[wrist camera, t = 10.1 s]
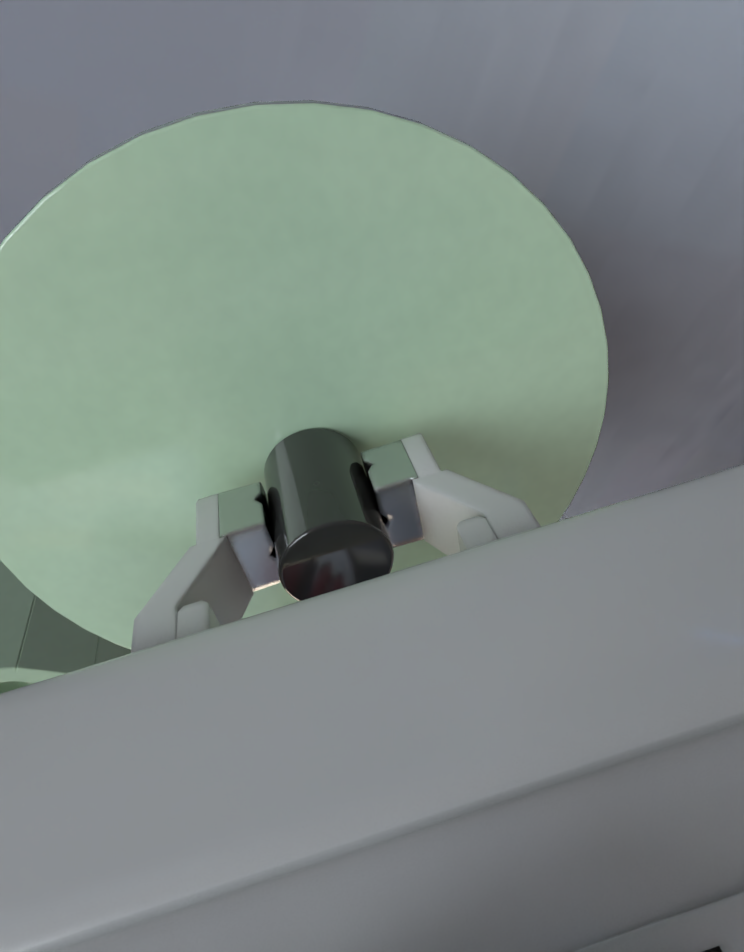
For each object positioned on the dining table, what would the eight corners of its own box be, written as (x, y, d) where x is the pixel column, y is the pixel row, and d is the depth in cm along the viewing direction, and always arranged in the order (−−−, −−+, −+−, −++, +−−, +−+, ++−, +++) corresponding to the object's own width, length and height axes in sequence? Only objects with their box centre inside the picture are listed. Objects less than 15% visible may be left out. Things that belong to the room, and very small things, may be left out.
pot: (-275, 607, 27) (-404, 778, 21) (182, 471, 28) (180, 598, 22) (-61, 766, 36) (-109, 915, 30) (277, 660, 37) (293, 784, 31)
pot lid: (-232, 221, 11) (-435, 324, 8) (596, 2, 12) (767, 1, 8) (140, 698, 21) (128, 842, 17) (584, 559, 22) (661, 669, 18)
